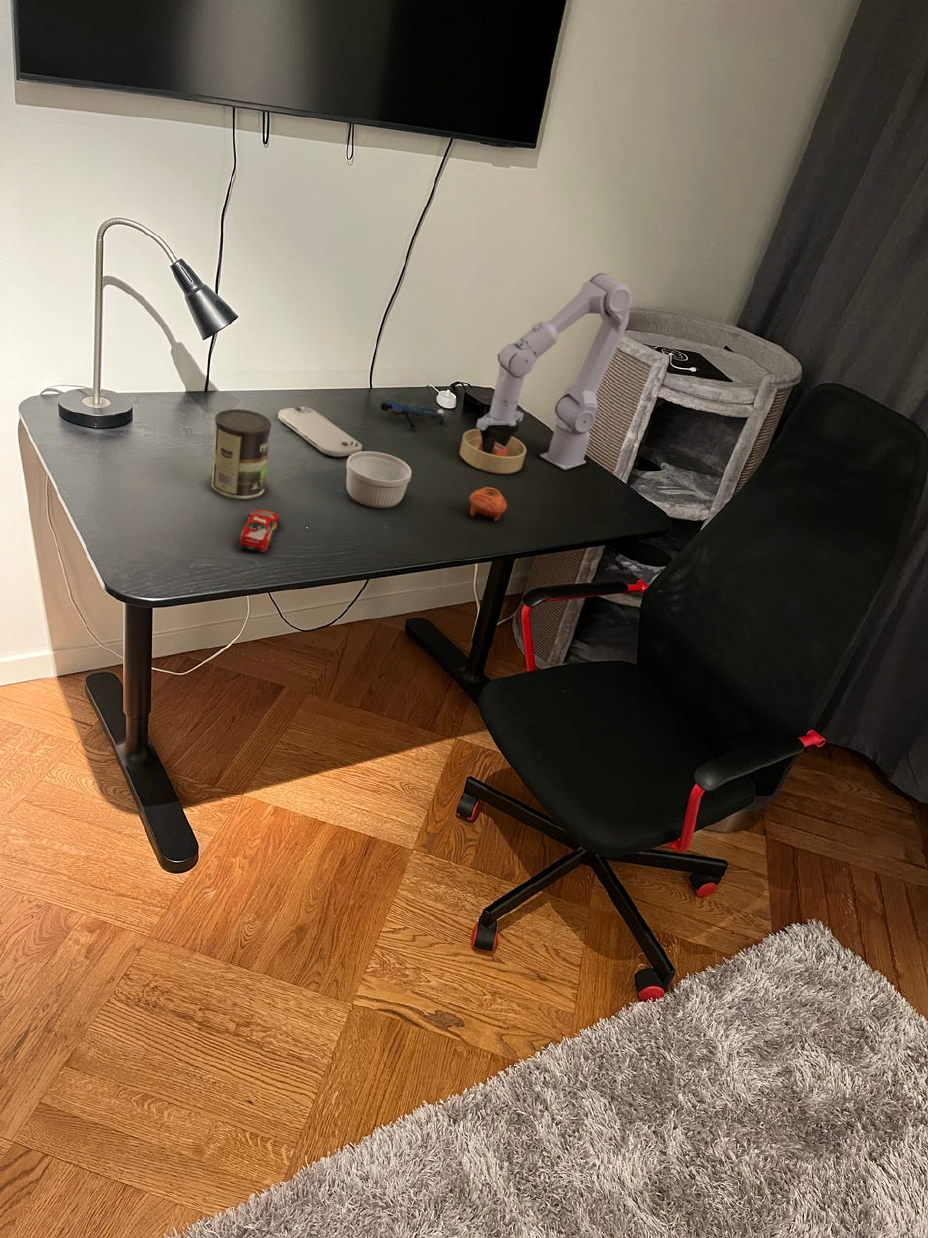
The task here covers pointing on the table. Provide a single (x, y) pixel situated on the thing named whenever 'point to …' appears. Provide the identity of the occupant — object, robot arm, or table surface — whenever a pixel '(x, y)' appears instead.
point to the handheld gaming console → (319, 432)
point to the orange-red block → (496, 449)
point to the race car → (259, 530)
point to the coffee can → (240, 453)
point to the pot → (487, 502)
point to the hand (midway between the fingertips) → (492, 452)
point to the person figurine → (413, 411)
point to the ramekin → (377, 479)
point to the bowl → (490, 461)
